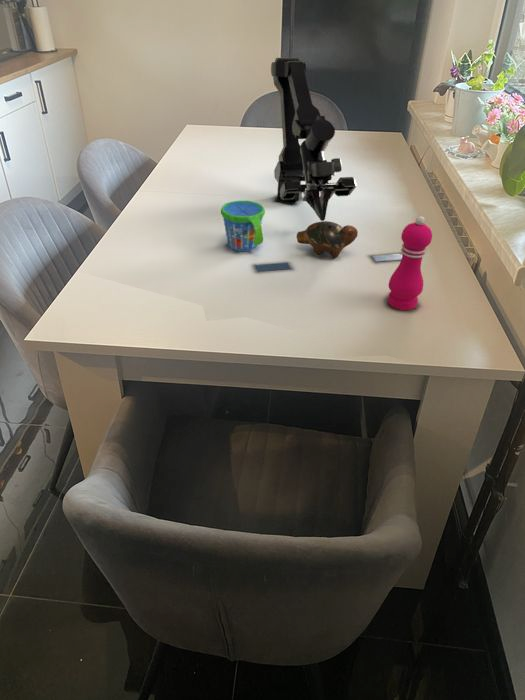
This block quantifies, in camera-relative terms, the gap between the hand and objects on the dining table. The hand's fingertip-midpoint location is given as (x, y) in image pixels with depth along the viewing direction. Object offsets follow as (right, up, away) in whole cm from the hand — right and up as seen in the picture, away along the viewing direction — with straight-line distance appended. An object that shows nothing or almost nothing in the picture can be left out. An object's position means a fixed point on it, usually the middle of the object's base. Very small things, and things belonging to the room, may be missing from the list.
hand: (322, 220), depth 136 cm
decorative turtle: (+1, -8, +1) cm, 8 cm away
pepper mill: (+15, -23, -17) cm, 32 cm away
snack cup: (-20, -6, +2) cm, 21 cm away
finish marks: (+2, -11, -3) cm, 12 cm away
